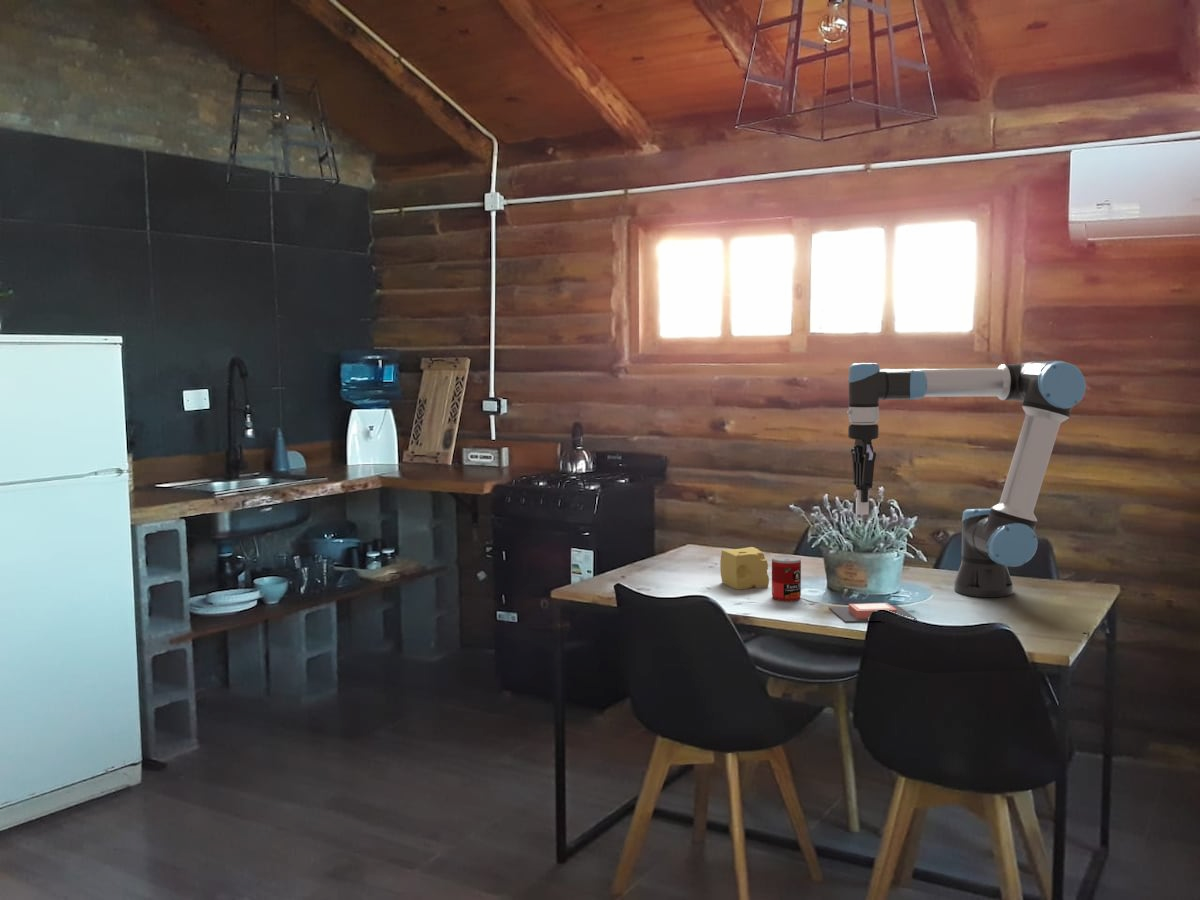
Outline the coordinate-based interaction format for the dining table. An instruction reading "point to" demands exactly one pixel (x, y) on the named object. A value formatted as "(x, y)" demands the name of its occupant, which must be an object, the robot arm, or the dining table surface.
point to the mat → (849, 618)
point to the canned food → (786, 578)
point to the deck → (868, 609)
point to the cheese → (744, 568)
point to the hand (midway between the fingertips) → (862, 514)
